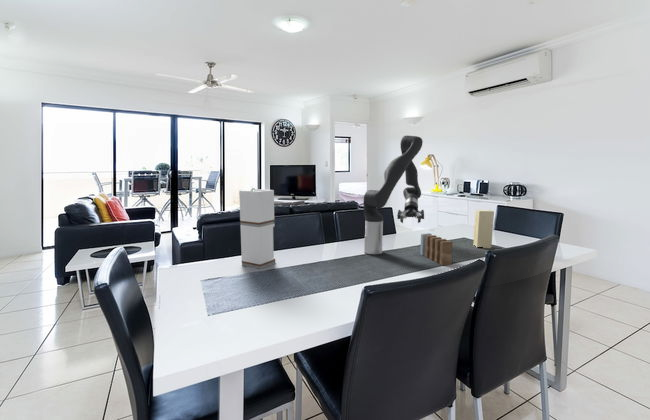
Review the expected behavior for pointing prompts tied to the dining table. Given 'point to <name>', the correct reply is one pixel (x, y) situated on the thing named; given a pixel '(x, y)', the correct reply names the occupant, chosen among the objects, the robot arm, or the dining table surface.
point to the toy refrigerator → (483, 228)
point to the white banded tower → (257, 227)
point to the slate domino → (423, 243)
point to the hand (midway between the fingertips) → (410, 221)
